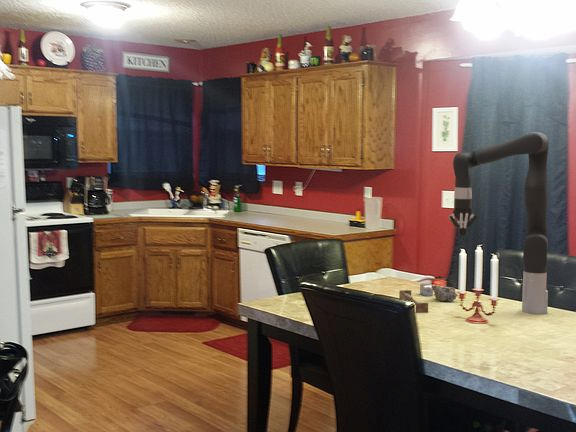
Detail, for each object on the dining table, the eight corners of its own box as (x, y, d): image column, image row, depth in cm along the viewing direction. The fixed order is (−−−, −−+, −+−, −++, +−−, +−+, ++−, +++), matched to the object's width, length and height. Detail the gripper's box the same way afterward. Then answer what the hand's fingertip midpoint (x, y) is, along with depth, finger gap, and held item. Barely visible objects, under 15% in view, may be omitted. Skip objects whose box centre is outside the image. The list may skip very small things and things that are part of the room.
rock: (431, 283, 300) (433, 293, 307) (430, 295, 296) (432, 305, 304) (457, 284, 296) (458, 294, 304) (456, 296, 293) (458, 306, 300)
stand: (410, 298, 305) (410, 288, 304) (428, 312, 278) (428, 301, 277) (399, 299, 304) (399, 289, 304) (415, 313, 277) (416, 302, 277)
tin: (427, 293, 317) (427, 283, 316) (435, 296, 311) (435, 285, 311) (417, 294, 314) (417, 284, 314) (424, 297, 309) (425, 286, 308)
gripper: (474, 197, 302) (473, 235, 304) (445, 197, 301) (444, 235, 303) (480, 198, 295) (479, 237, 296) (451, 198, 294) (450, 237, 295)
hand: (461, 236), depth 299 cm, fingers closed
